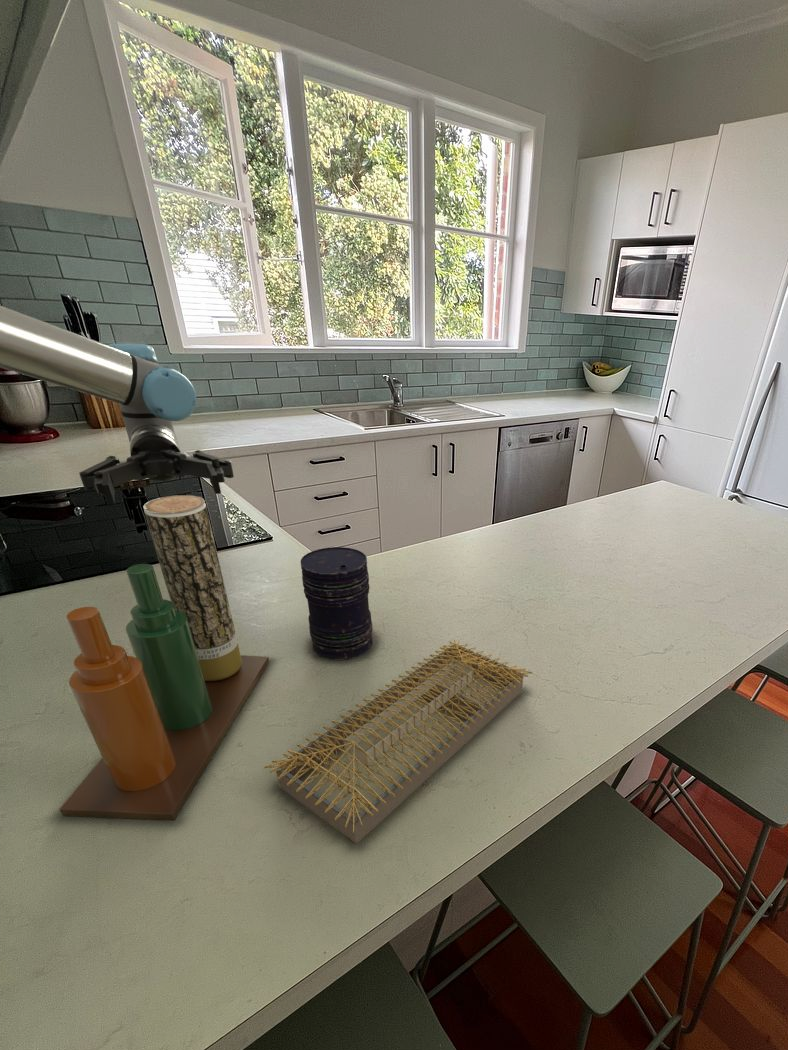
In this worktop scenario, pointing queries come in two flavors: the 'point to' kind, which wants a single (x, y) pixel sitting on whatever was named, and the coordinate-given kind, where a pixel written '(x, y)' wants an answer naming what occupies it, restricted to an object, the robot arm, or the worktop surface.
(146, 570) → the green bottle
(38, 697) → the worktop surface
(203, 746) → the walnut board
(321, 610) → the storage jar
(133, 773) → the amber bottle
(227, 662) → the bark cylinder
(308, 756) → the rafter model
